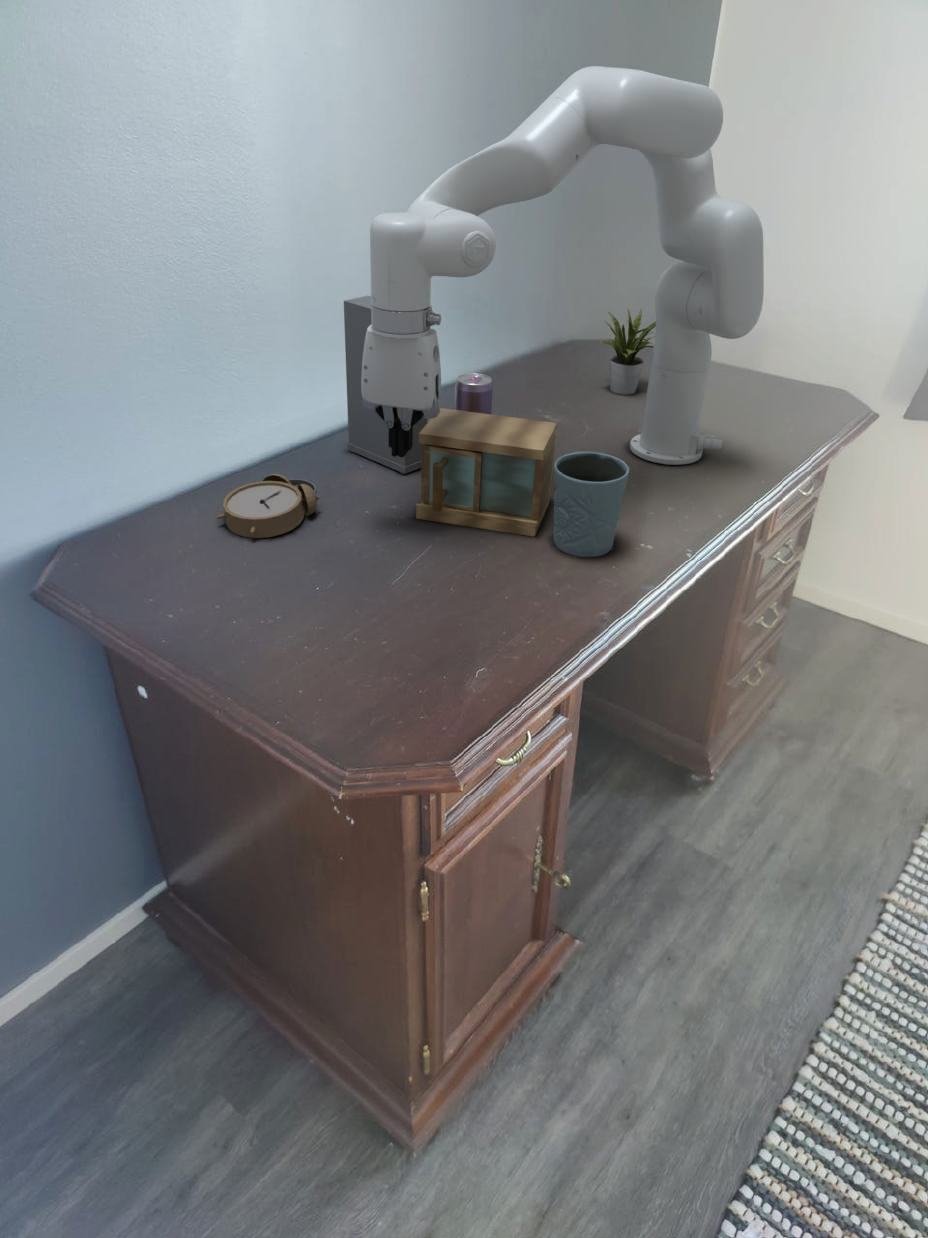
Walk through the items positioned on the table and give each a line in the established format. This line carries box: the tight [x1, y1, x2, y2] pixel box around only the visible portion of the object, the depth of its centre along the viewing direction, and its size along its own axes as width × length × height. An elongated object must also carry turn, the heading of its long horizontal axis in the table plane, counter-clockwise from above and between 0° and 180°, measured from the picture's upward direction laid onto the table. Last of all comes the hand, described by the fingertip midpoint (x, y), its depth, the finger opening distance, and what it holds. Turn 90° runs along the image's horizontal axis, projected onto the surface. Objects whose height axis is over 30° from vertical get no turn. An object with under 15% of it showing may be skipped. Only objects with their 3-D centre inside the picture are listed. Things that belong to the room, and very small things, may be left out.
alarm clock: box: [216, 473, 321, 539], centre depth 131 cm, size 11×5×15 cm
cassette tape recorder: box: [343, 295, 428, 475], centre depth 144 cm, size 14×6×25 cm, turn 48°
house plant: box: [599, 309, 656, 396], centre depth 179 cm, size 14×14×16 cm
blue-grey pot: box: [552, 451, 630, 558], centre depth 125 cm, size 10×10×12 cm
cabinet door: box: [424, 444, 482, 513], centre depth 128 cm, size 8×5×9 cm, turn 75°
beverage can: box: [453, 372, 494, 415], centre depth 145 cm, size 6×6×15 cm
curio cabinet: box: [415, 407, 558, 538], centre depth 132 cm, size 18×12×13 cm, turn 75°
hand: (400, 452), depth 125 cm, fingers closed
